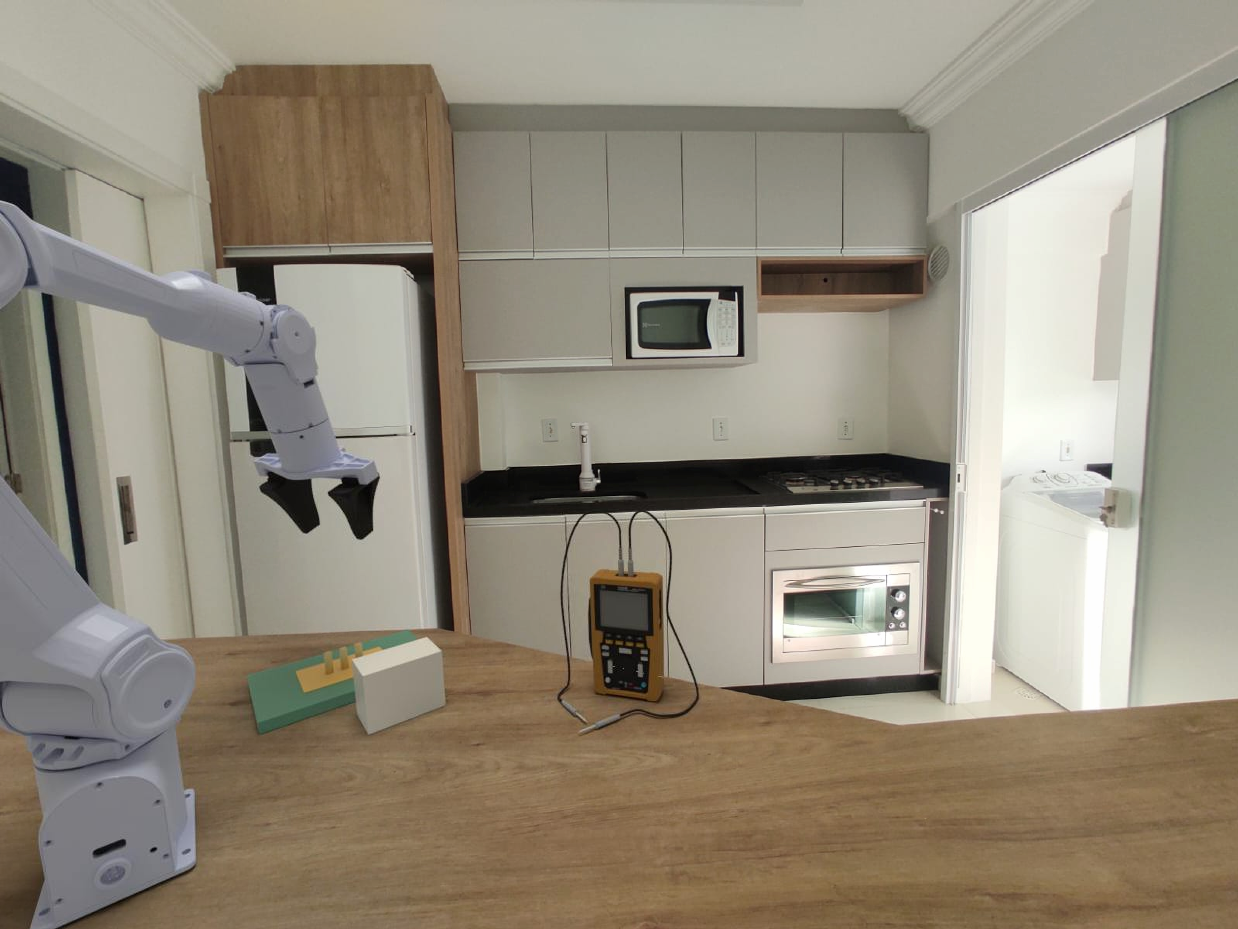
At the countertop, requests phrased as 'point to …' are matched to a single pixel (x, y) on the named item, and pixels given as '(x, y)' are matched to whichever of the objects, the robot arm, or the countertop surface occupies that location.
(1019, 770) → the countertop surface
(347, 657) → the header board
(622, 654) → the multimeter
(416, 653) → the block
